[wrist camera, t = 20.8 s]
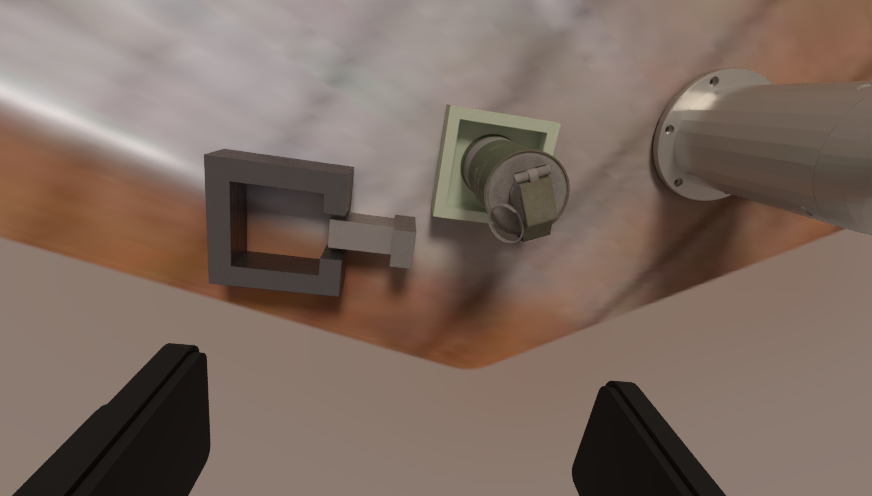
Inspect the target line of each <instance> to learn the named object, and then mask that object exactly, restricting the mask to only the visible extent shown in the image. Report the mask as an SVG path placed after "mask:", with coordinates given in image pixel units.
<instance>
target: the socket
mask: <svg viewBox="0 0 872 496" xmlns="http://www.w3.org/2000/svg"><path fill="white" fill-rule="evenodd" d="M204 166H205V192H206V219H207V245H208V272H209V283H210V284H220V285H229V286H239V287H249V288H259V289H268V290H278V291H288V292H298V293H308V294H317V295H327V296H337V297H339V294H340V291H341V288H342V285H343V282H344V279H345V267H346V255H347V249H338V248H330V247H328V244H327V246H326V248H325V250H324V252H323V254H322V255H321V257H320V259H313V258H304V257H295V256H286V255H277V254H268V253H259V252H251V251H247V215H246V184H254V185H262V186H269V187H277V188H284V189H292V190H300V191H307V192H315V193H322V194H324V201H323V213H325V214H333V215H341V216H346V214H347V212H348V210H349V208H350V206H351V196H352V185H353V173H354V167H349V166H342V165H335V164H328V163H321V162H314V161H306V160H299V159H292V158H285V157H278V156H271V155H264V154H257V153H249V152H242V151H235V150H228V149H222V150H218V151H215V152H211V153H208V154H204Z"/></svg>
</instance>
